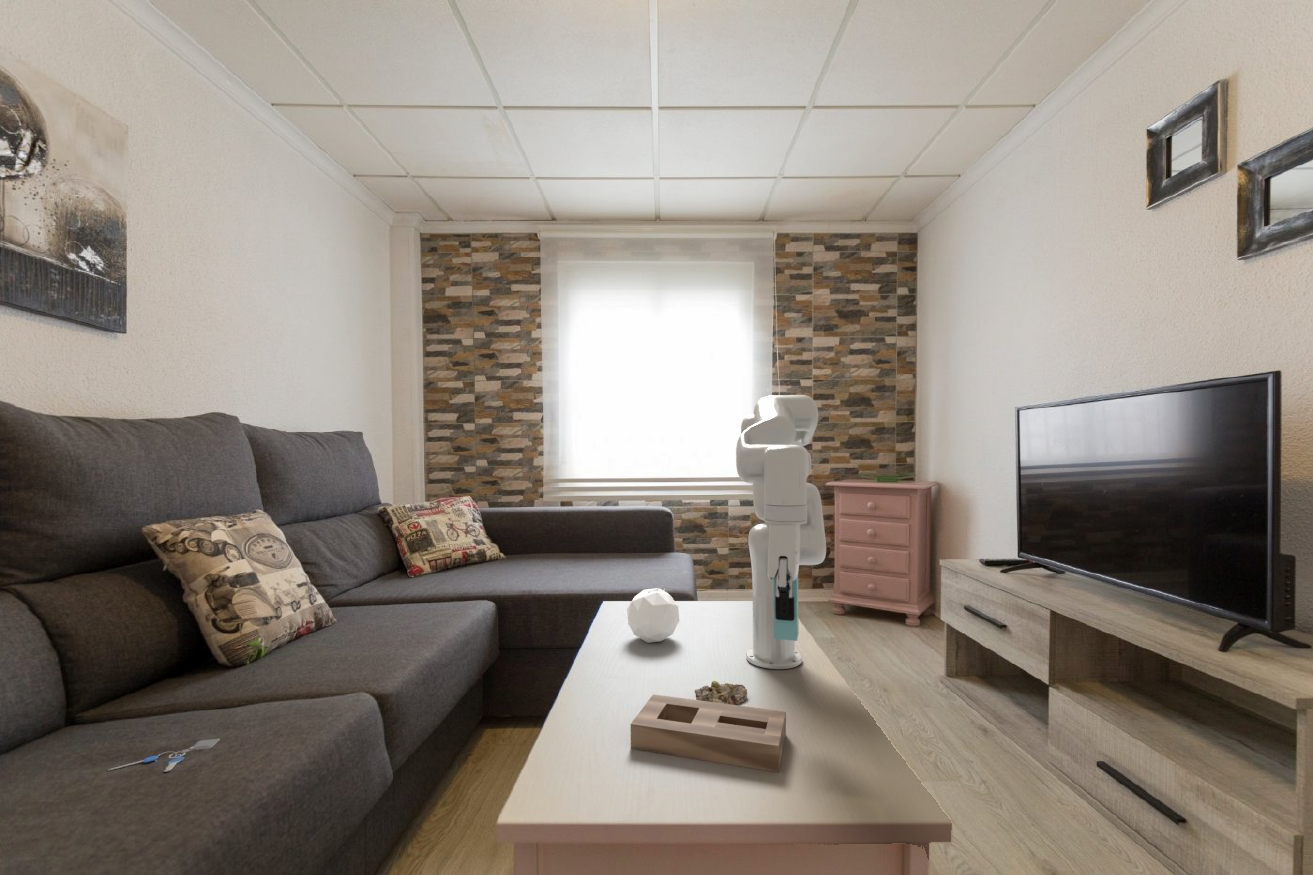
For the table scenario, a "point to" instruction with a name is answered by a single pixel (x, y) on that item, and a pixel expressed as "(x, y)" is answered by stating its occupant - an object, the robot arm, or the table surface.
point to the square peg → (784, 627)
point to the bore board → (711, 732)
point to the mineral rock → (722, 693)
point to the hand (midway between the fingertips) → (786, 614)
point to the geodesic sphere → (653, 615)
